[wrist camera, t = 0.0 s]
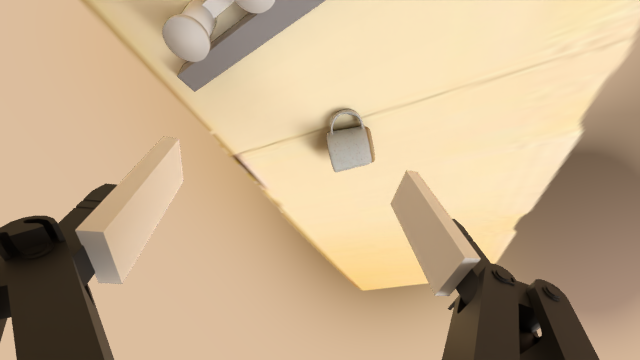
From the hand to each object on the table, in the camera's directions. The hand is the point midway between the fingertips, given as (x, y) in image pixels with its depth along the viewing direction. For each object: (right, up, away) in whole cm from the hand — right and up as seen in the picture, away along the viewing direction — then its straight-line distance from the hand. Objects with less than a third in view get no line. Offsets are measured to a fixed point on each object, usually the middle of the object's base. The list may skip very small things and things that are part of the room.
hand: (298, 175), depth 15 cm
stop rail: (-9, +22, +17) cm, 29 cm away
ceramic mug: (+6, +10, +35) cm, 37 cm away
